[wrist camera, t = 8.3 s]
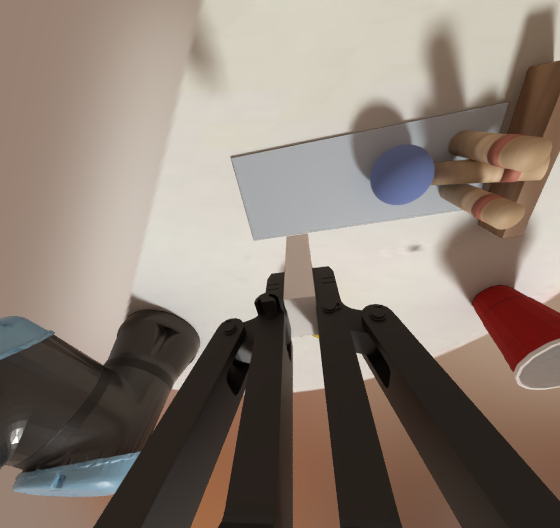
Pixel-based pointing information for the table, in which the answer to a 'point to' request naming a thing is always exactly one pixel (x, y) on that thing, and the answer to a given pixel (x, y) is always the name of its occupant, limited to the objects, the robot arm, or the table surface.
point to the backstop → (533, 122)
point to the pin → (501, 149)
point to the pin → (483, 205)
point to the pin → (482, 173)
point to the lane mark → (347, 176)
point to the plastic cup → (523, 335)
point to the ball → (402, 174)
